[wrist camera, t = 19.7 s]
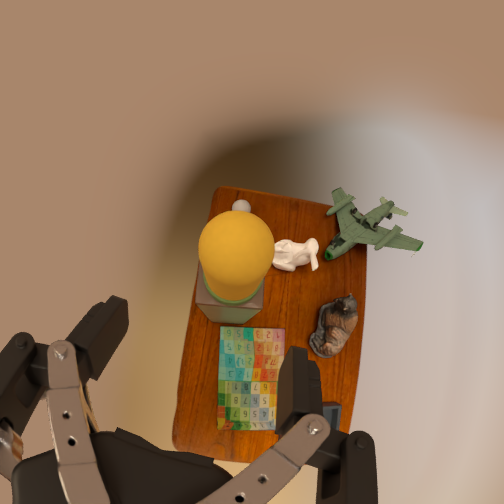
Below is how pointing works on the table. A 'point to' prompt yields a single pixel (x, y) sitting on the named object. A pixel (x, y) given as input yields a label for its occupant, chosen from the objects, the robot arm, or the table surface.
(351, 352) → the table surface
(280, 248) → the rabbit figurine
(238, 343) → the puzzle game
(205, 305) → the plinth
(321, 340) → the cat statue
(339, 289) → the table surface
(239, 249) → the corn toy
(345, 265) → the table surface
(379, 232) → the airplane
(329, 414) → the basket
